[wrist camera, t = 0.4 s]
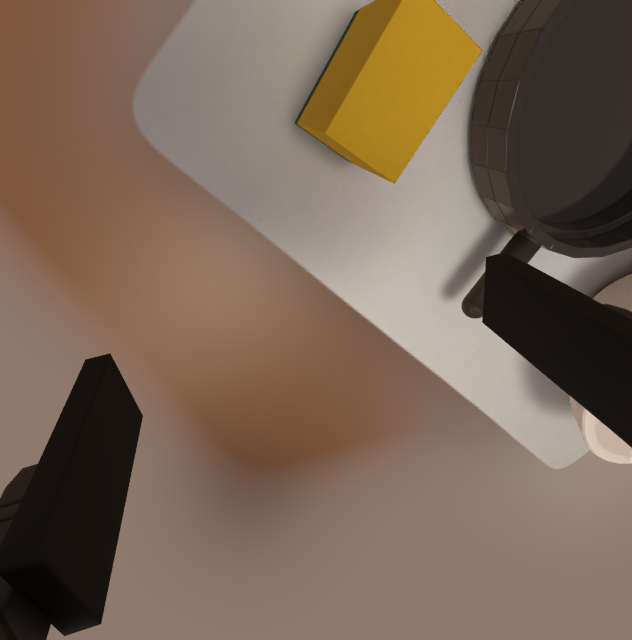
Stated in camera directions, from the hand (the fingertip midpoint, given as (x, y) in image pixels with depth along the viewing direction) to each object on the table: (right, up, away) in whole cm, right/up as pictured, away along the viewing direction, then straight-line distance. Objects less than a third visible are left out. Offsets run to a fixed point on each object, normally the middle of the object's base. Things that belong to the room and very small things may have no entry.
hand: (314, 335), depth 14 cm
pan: (+20, +16, +16) cm, 30 cm away
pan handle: (+14, +5, +18) cm, 23 cm away
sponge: (+2, +15, +12) cm, 19 cm away
